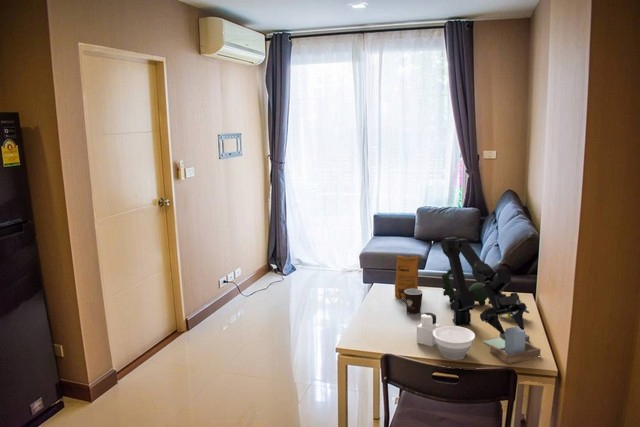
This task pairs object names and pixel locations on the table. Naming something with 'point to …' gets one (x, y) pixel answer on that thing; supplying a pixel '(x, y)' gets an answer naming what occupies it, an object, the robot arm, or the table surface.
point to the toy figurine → (476, 288)
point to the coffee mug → (412, 300)
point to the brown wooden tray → (513, 358)
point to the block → (514, 340)
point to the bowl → (453, 341)
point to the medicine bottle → (427, 329)
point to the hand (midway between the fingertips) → (513, 331)
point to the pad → (496, 343)
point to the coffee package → (406, 275)
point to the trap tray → (504, 336)
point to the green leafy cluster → (510, 313)
